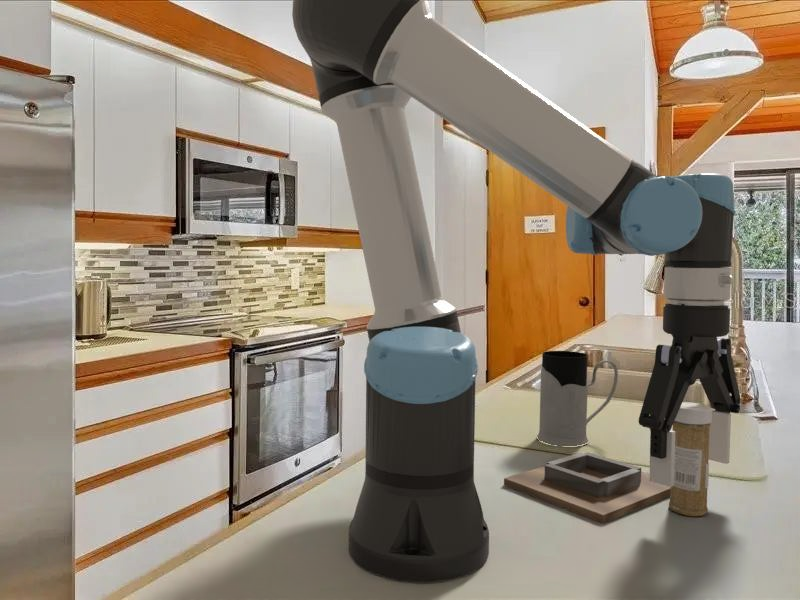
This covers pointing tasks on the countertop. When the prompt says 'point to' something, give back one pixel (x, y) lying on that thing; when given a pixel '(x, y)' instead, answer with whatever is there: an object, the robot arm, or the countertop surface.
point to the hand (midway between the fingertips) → (690, 471)
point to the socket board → (590, 486)
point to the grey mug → (566, 397)
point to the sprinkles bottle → (691, 459)
